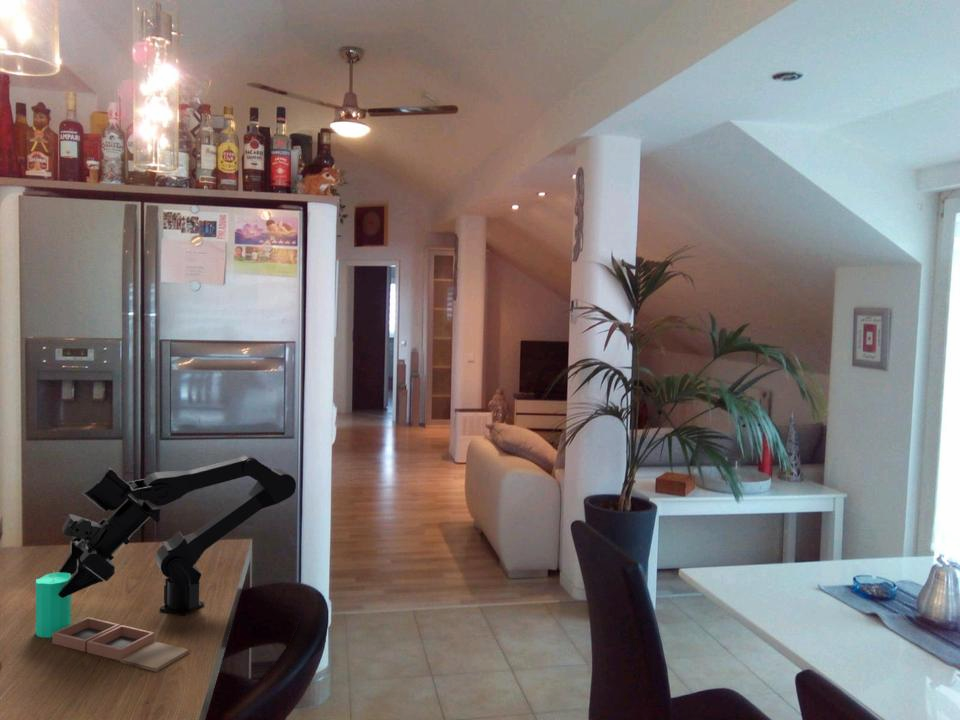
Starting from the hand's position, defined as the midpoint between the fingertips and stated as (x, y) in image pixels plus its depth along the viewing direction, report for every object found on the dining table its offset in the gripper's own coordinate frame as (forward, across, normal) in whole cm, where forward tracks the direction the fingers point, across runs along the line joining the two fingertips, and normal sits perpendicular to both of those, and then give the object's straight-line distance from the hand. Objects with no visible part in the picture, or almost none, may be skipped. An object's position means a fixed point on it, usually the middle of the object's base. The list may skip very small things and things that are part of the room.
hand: (57, 588), depth 143 cm
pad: (-4, +21, +16) cm, 26 cm away
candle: (+6, 0, +6) cm, 9 cm away
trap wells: (+1, +10, +11) cm, 15 cm away
